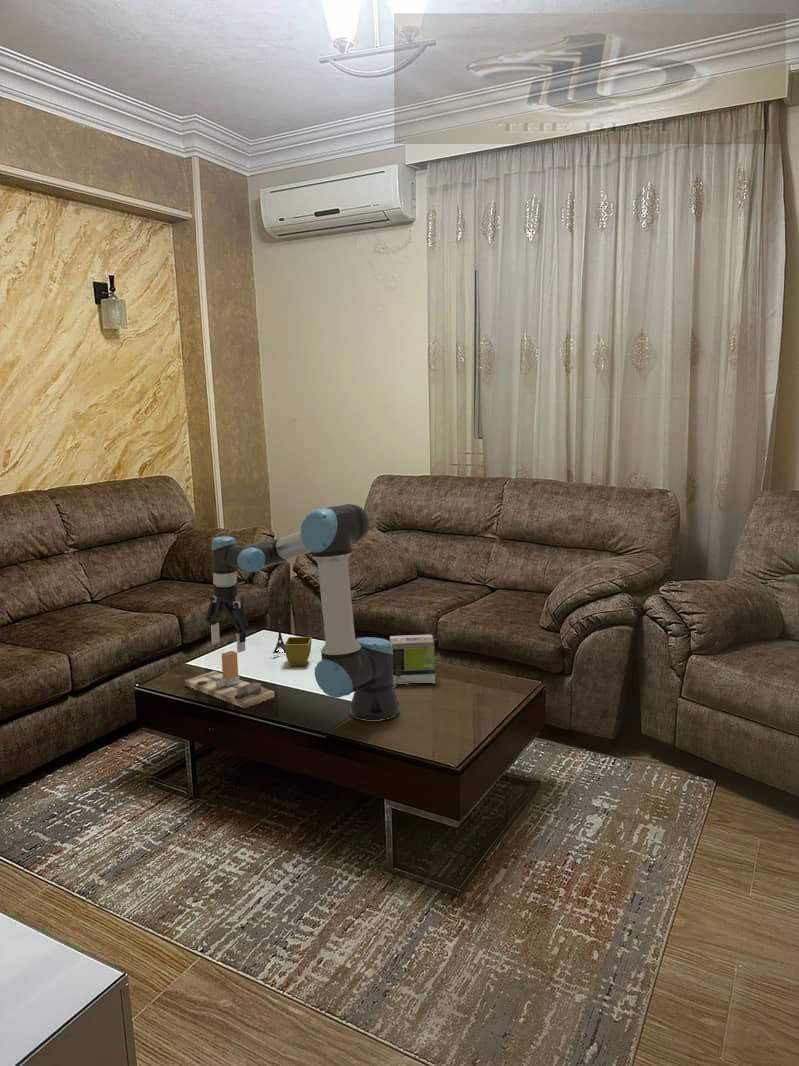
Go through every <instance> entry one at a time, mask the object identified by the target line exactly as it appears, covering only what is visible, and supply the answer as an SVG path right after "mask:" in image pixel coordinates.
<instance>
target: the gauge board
mask: <svg viewBox="0 0 799 1066" xmlns="http://www.w3.org/2000/svg"><path fill="white" fill-rule="evenodd" d="M222 677H223V672H222V673H221V672H219V671H216V670H213V671H210V672H206V673H203V674H199V675H197V676H194V677H191V678H188V679H185V680H184V685H185V687H187V686H188V688H189V687H190V689H192V688H193V689H192V690H195V691H197V690H198V692H200V691H201V692H200V693H202V692H203V694H205V693H206V695H208V694H209V695H208V696H210V695H211V697H213V698H216V699H218V698H219V700H221V699H222V700H221V701H223V700H224V702H226V701H227V703H229V702H230V703H229V704H231V703H232V704H231V705H234V706H237V707H239V706H240V707H239V708H242V709H244V708H245V709H247V708H251V707H253V706H256V705H258V704H261V703H264V702H266V701H269V700H271V698H272V699H274V698H275V691H274V690H271V689H268V688H265V687H262V683H259V682H256V681H253V682H251V683H250V682H248V681H245V680H242V679H240V683H237V684H234V685H231V686H228V687H227V686H224V685H223V686H221V688H219V689H217V688H216V681H220V682H222ZM273 697H274V698H273ZM268 699H269V700H268ZM263 701H264V702H263ZM250 706H251V707H250Z"/></svg>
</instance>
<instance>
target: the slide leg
mask: <svg viewBox="0 0 799 1066" xmlns="http://www.w3.org/2000/svg"><path fill="white" fill-rule="evenodd" d="M221 666H222V667H221V668H222V669H221V670H222V674H223V677H222V682H220V681H216V688H217V689H219V688H221V686H223V685H224V686H227V687H228V686H231V685H234V684H237V683H240V680H241V679H240V674H239V667H238V666H239V664H238V652H237V651H234V650H229V651H226V652H223V653H221Z"/></svg>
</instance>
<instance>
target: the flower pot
mask: <svg viewBox="0 0 799 1066" xmlns="http://www.w3.org/2000/svg"><path fill="white" fill-rule="evenodd" d="M312 639H313V638H312V636H292V637H291V636H290V637H287V639H286V641H285V642H284V644H285V651H286V655H285V656H286V659H287V662H288V663H289V665H290V666H291V667H304V666H305V667H306V666H307V663H308V660H309V658H310V654H311V649H312Z"/></svg>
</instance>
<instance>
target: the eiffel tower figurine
mask: <svg viewBox="0 0 799 1066" xmlns="http://www.w3.org/2000/svg"><path fill="white" fill-rule="evenodd" d="M274 649H275V650H274ZM274 649H273V651H274V652H273V651H272V654H279V653H278V652H279V650H278V651H276V650H277V649H283V650H284V653H286V651H285V642H284V640H283V637H282V630H281V620H278V637H277V642H276V644H275V648H274ZM282 653H283V652H282ZM282 653H281V654H282ZM276 658H277V657H275V658H274V659H276Z"/></svg>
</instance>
